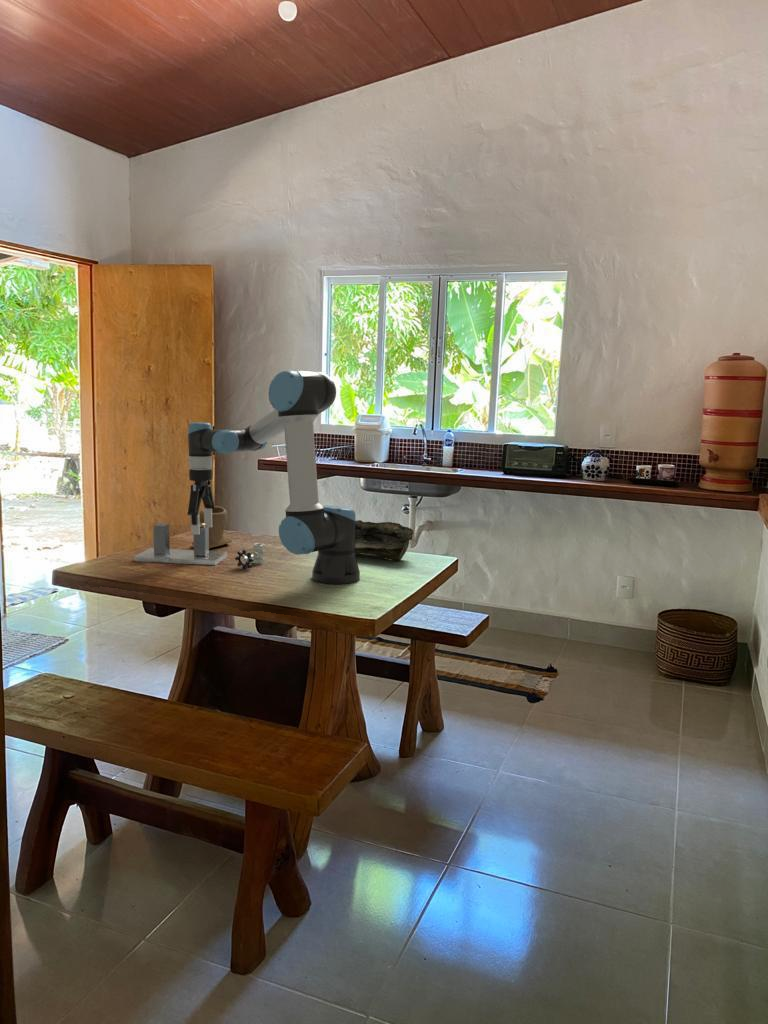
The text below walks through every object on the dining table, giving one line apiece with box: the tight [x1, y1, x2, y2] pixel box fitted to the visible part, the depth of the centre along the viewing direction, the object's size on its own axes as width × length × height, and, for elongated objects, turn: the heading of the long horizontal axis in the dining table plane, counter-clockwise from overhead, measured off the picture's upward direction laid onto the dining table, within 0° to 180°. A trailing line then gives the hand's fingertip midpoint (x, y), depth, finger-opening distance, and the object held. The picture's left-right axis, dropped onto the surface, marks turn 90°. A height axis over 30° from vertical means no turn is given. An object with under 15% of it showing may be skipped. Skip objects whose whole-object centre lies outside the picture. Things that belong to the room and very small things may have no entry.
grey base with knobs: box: [133, 523, 228, 566], centre depth 260 cm, size 14×28×12 cm, turn 85°
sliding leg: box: [193, 523, 210, 556], centre depth 259 cm, size 4×4×11 cm
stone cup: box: [191, 505, 233, 549], centre depth 280 cm, size 15×12×15 cm
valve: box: [234, 542, 266, 570], centre depth 254 cm, size 7×7×12 cm
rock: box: [355, 519, 414, 562], centre depth 271 cm, size 28×13×15 cm
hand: (202, 530), depth 258 cm, fingers open, 13 cm apart
